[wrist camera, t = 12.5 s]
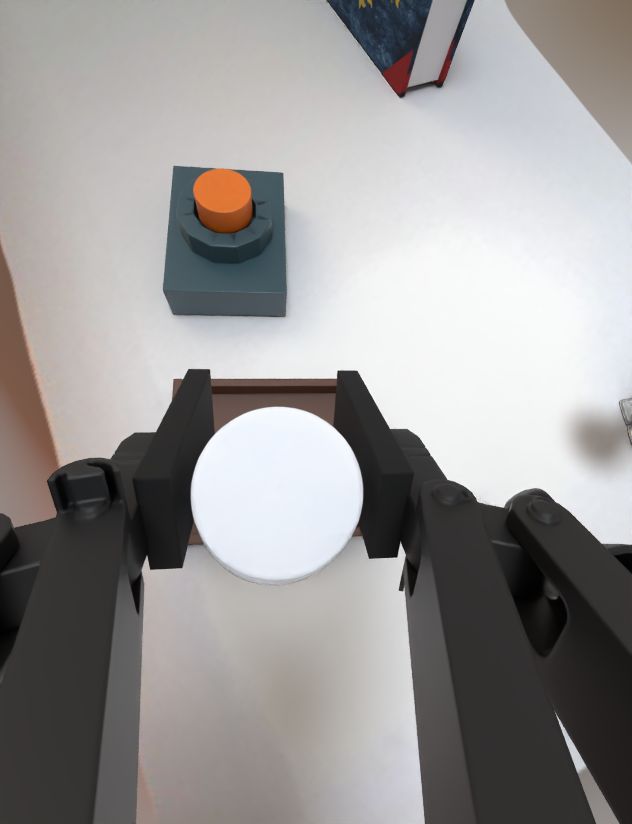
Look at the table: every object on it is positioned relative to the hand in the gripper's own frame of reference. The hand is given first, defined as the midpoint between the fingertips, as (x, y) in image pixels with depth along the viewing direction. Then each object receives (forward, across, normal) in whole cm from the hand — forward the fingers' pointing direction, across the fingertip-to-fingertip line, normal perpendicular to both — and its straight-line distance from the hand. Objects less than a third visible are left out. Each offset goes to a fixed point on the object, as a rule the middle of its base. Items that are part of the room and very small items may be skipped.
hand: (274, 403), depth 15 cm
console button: (+20, -3, +6) cm, 21 cm away
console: (+23, -3, +3) cm, 24 cm away
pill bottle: (0, 0, -5) cm, 5 cm away
